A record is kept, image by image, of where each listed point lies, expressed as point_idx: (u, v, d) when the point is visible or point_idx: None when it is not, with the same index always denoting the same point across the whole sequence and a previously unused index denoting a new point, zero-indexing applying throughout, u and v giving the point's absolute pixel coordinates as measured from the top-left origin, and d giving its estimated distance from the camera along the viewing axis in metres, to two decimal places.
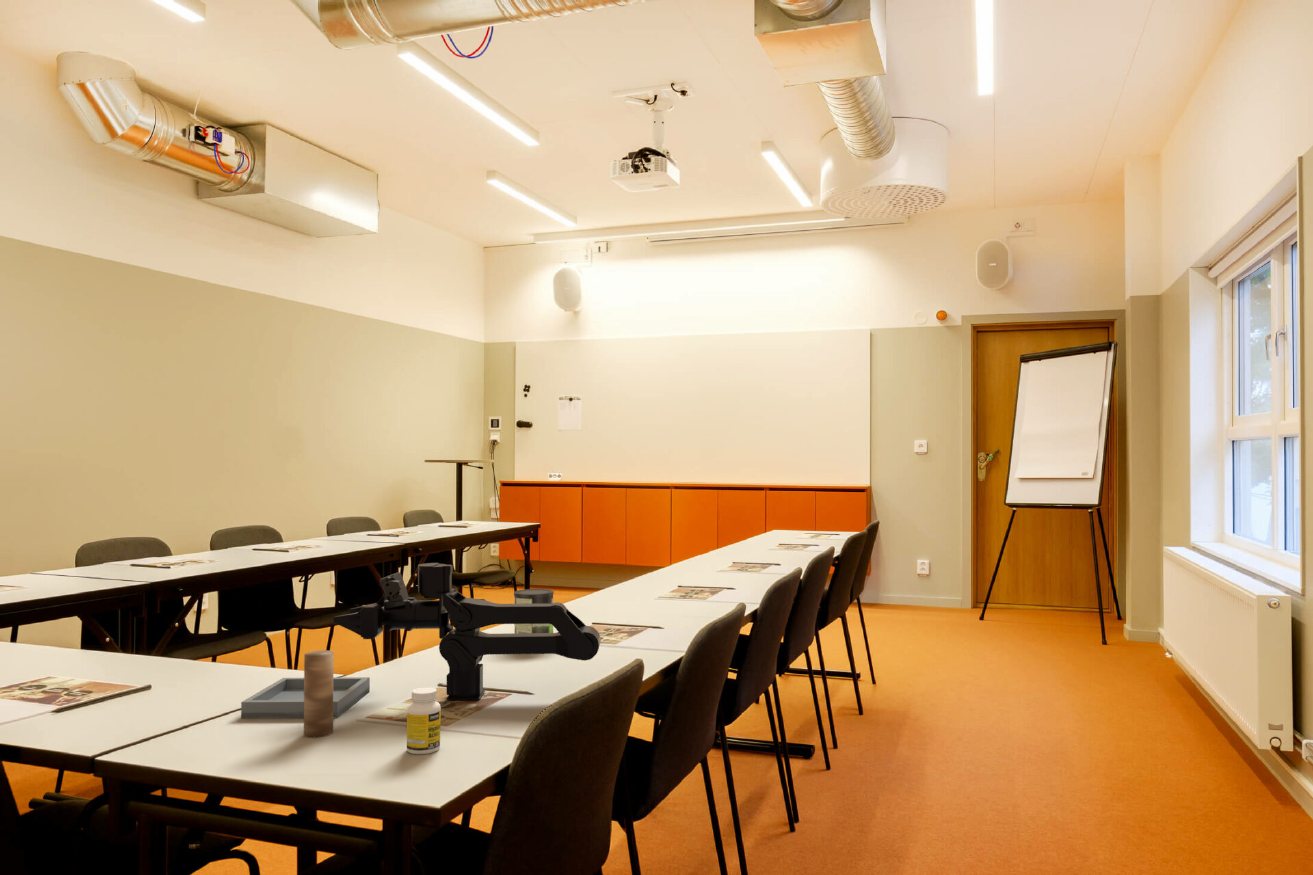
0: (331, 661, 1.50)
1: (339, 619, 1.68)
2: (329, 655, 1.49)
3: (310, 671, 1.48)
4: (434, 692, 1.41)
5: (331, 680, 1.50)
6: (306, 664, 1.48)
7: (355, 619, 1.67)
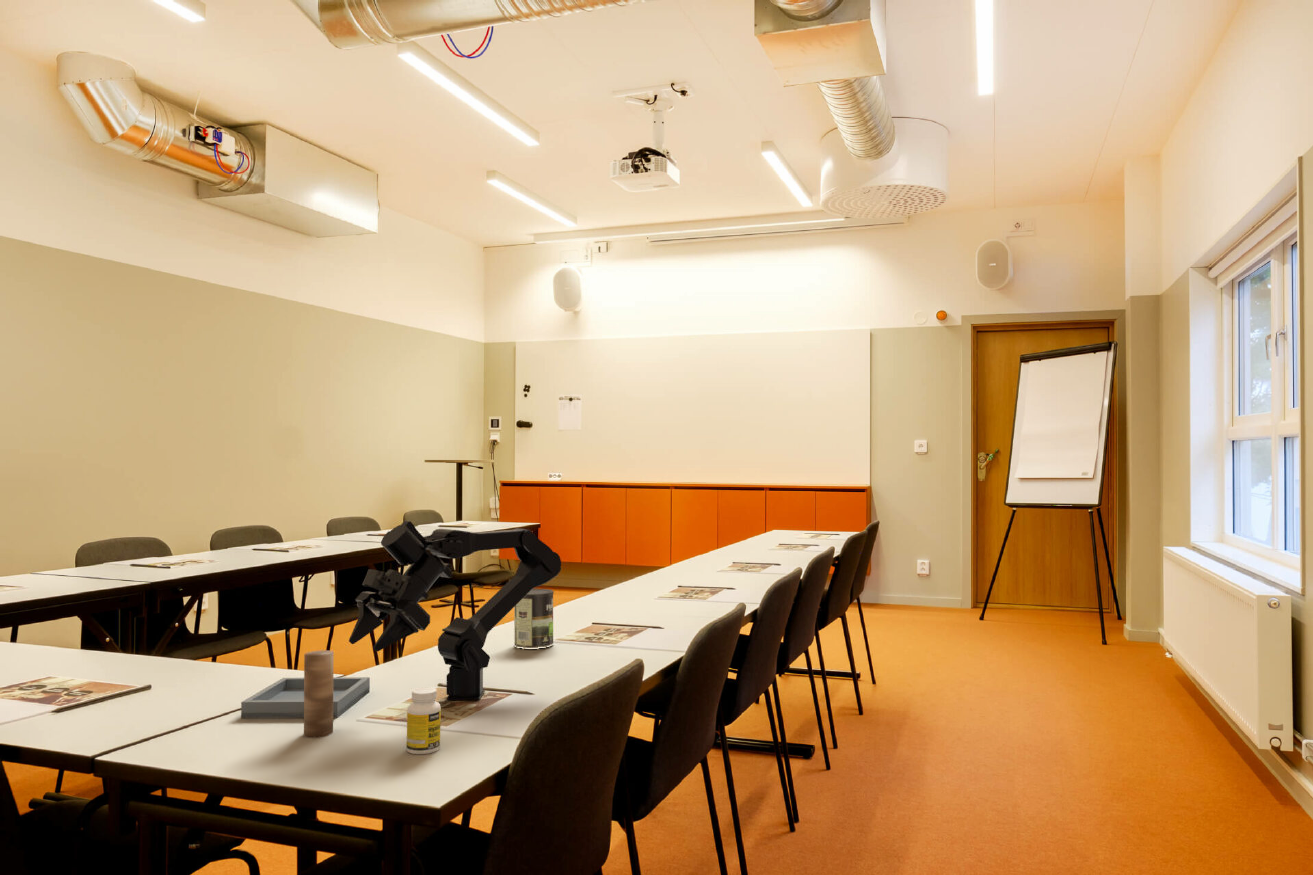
0: (331, 661, 1.50)
1: (381, 643, 1.54)
2: (329, 655, 1.49)
3: (310, 671, 1.48)
4: (434, 692, 1.41)
5: (331, 680, 1.50)
6: (306, 664, 1.48)
7: (394, 629, 1.55)
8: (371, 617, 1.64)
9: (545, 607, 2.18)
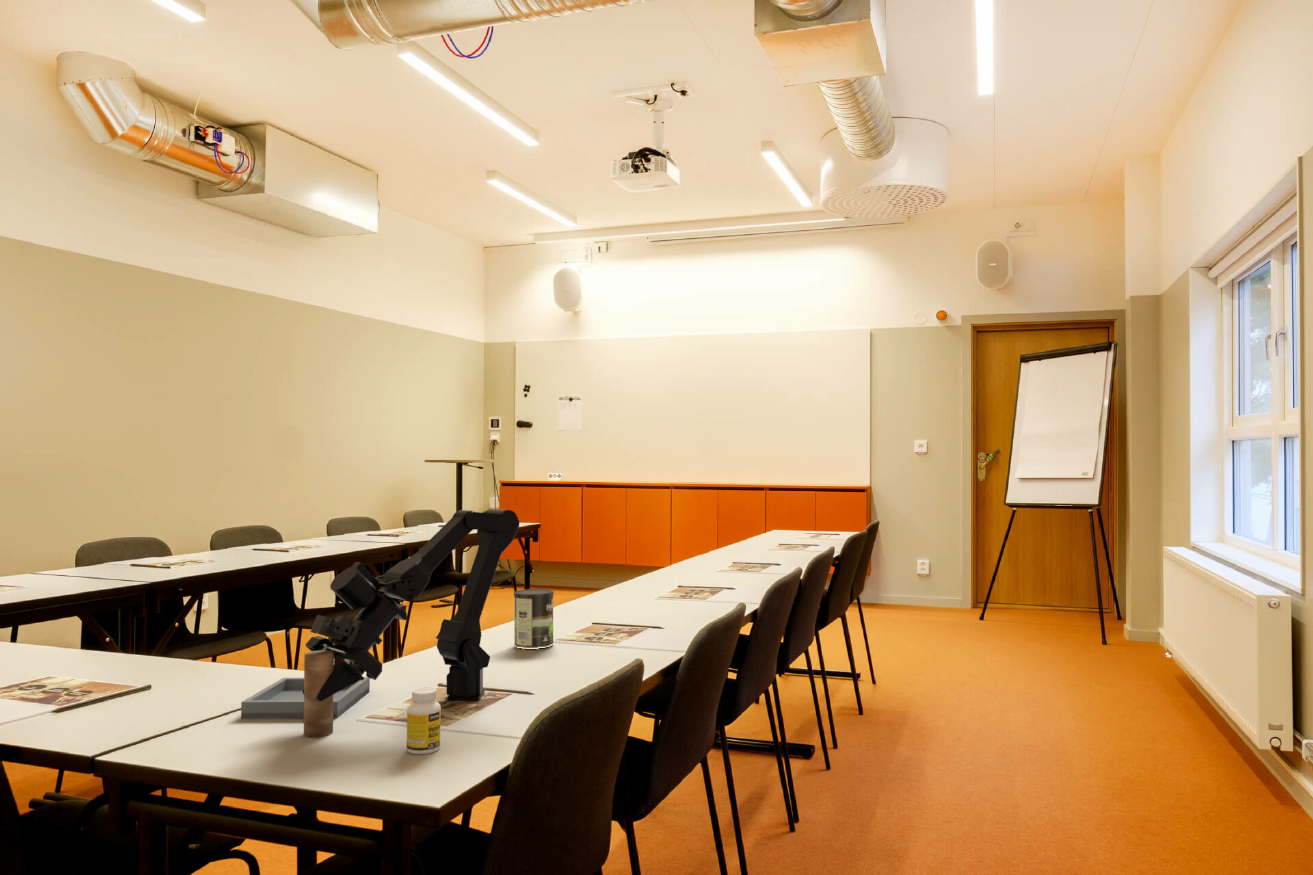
0: (331, 661, 1.50)
1: (324, 692, 1.47)
2: (329, 655, 1.49)
3: (310, 671, 1.48)
4: (434, 692, 1.41)
5: None
6: (306, 664, 1.48)
7: (338, 677, 1.49)
8: None
9: (545, 607, 2.18)
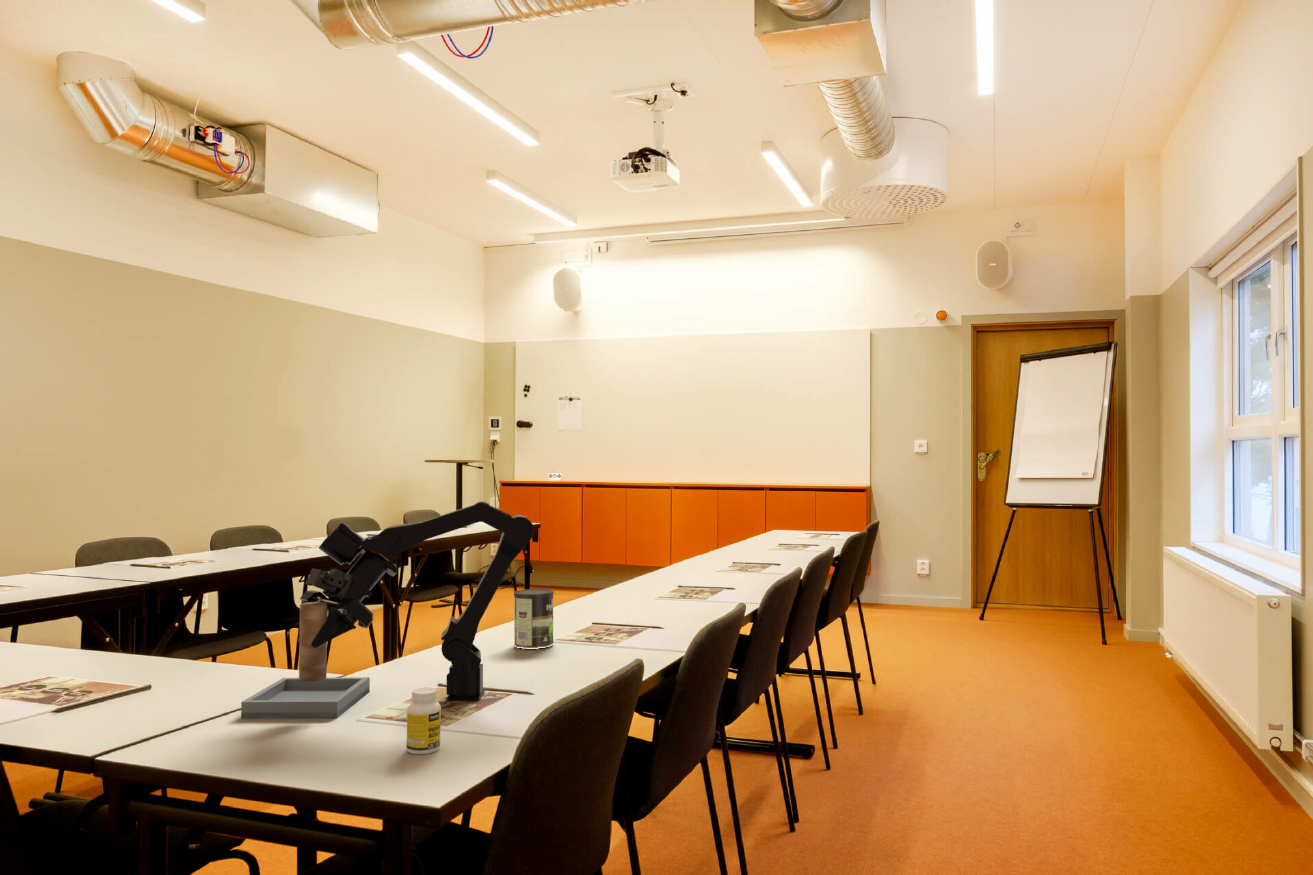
0: (325, 611, 1.60)
1: (319, 639, 1.58)
2: (323, 605, 1.60)
3: (305, 620, 1.58)
4: (434, 692, 1.41)
5: None
6: (301, 613, 1.59)
7: (332, 626, 1.59)
8: None
9: (545, 607, 2.18)
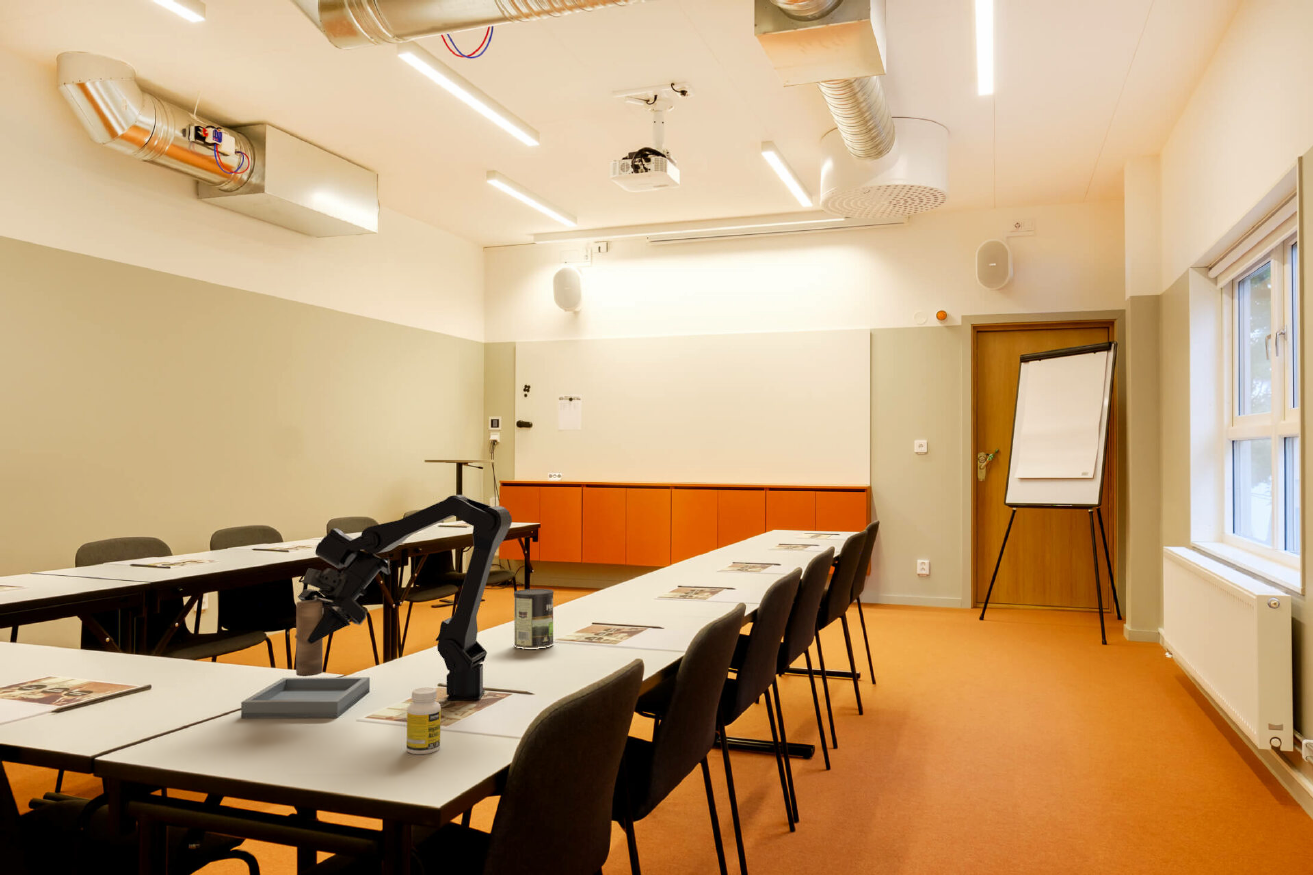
0: (320, 609, 1.68)
1: (314, 636, 1.66)
2: (318, 603, 1.67)
3: (301, 617, 1.66)
4: (434, 692, 1.41)
5: None
6: (298, 611, 1.66)
7: (327, 623, 1.67)
8: None
9: (545, 607, 2.18)
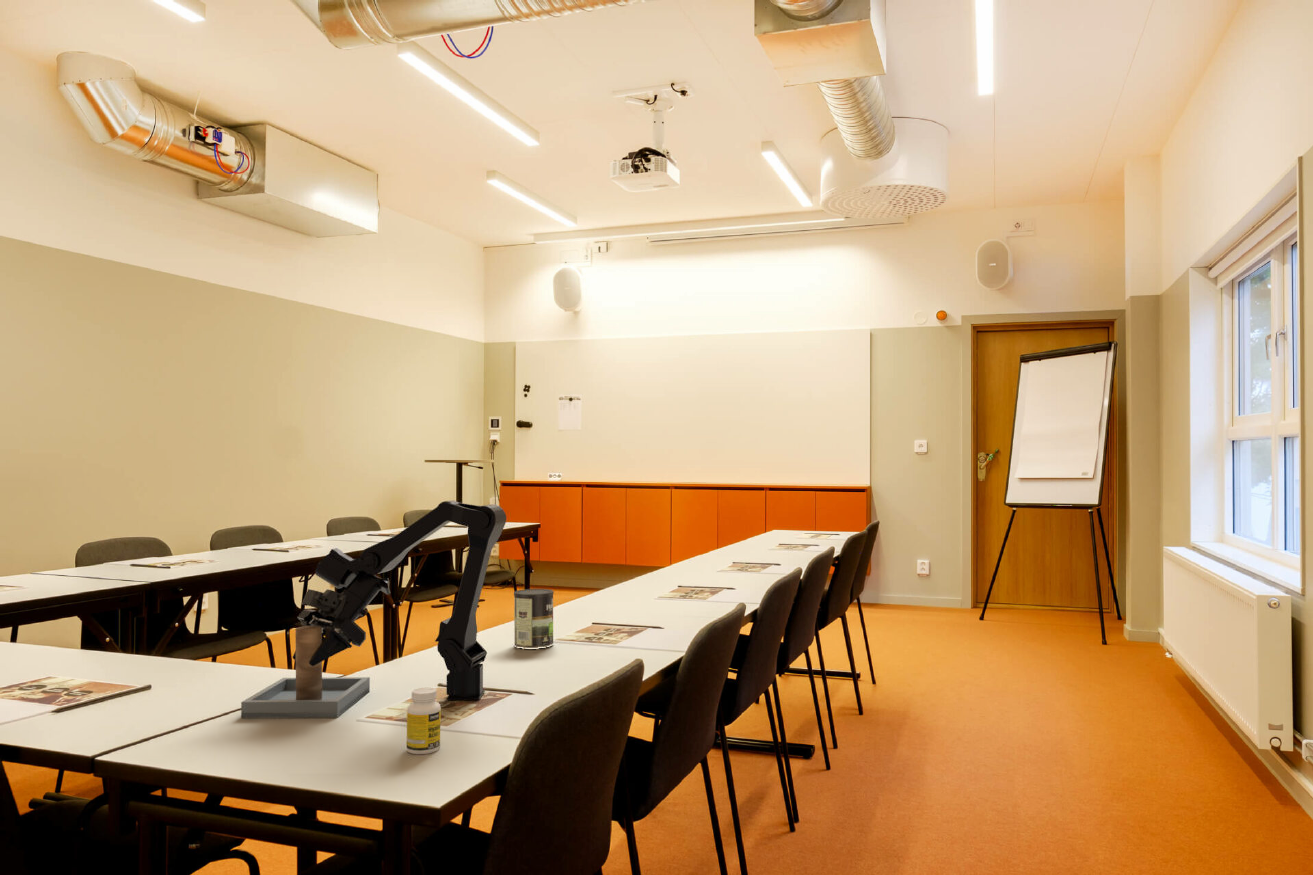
0: (319, 634, 1.68)
1: (316, 658, 1.65)
2: (317, 629, 1.67)
3: (300, 644, 1.66)
4: (434, 692, 1.41)
5: None
6: (297, 637, 1.66)
7: (329, 645, 1.66)
8: None
9: (545, 607, 2.18)
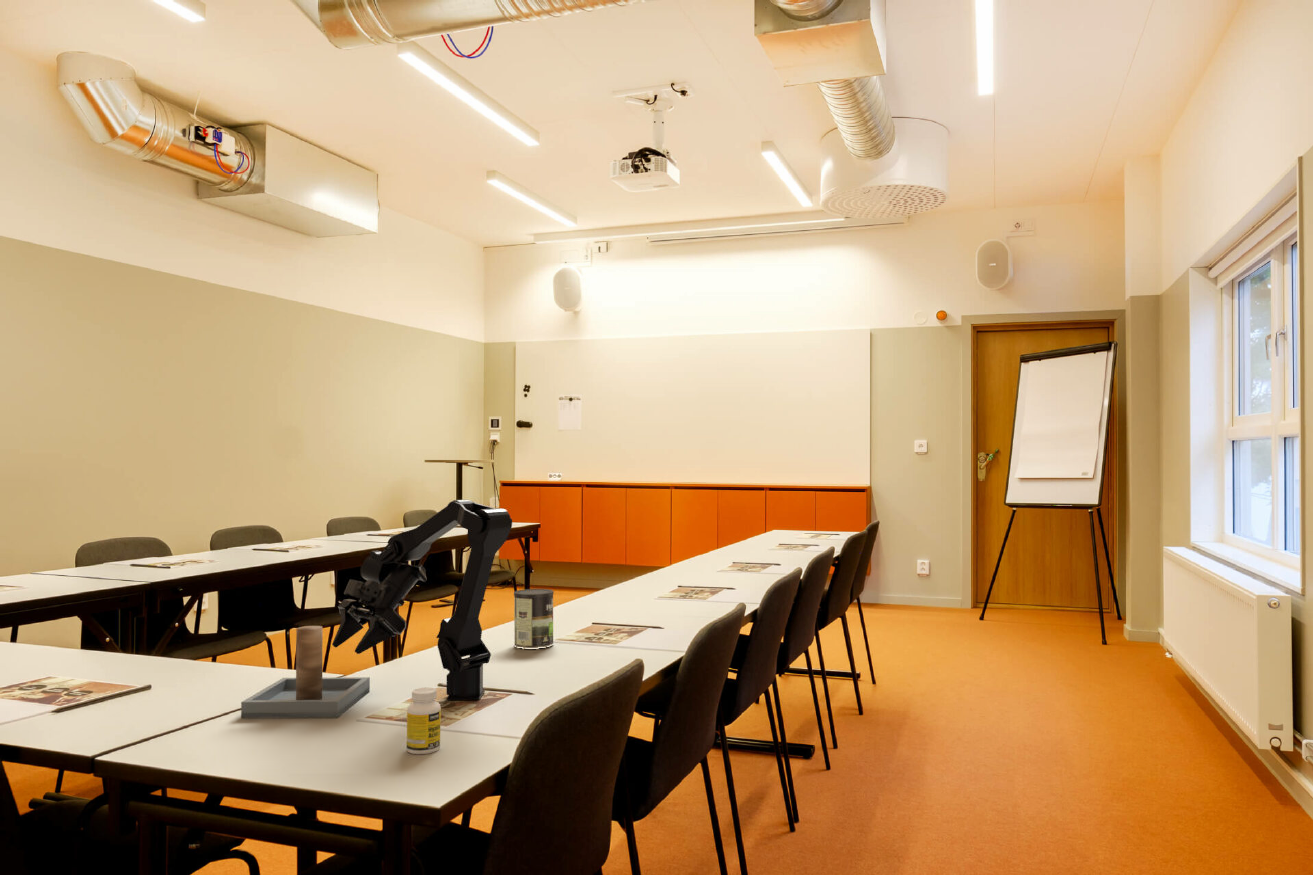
0: (320, 635, 1.68)
1: (362, 646, 1.71)
2: (318, 629, 1.67)
3: (301, 644, 1.66)
4: (434, 692, 1.41)
5: (320, 652, 1.68)
6: (298, 637, 1.66)
7: (374, 633, 1.72)
8: (352, 622, 1.80)
9: (545, 607, 2.18)
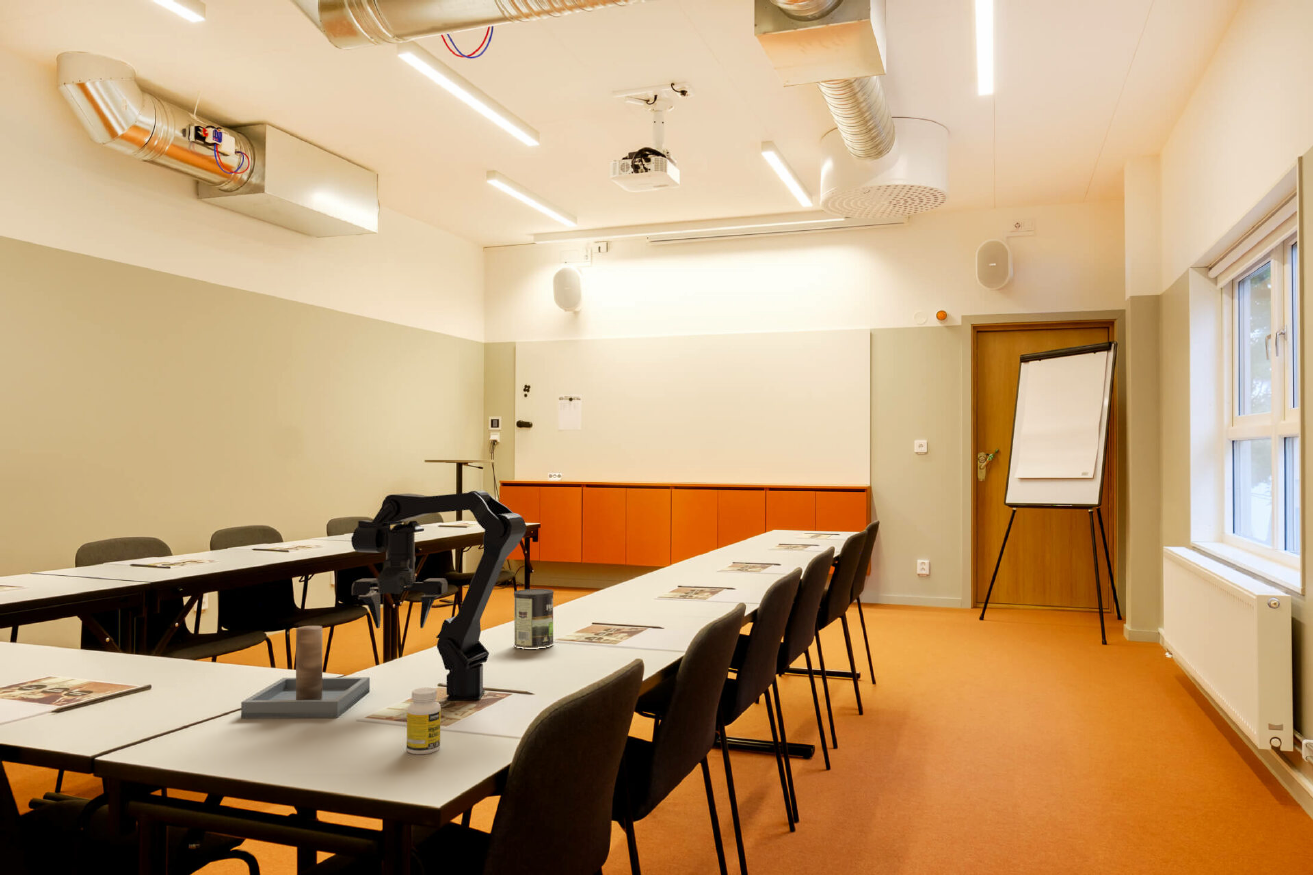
0: (320, 635, 1.68)
1: (424, 621, 1.78)
2: (318, 629, 1.67)
3: (301, 644, 1.66)
4: (434, 692, 1.41)
5: (320, 652, 1.68)
6: (298, 637, 1.66)
7: None
8: (376, 599, 1.79)
9: (545, 607, 2.18)
